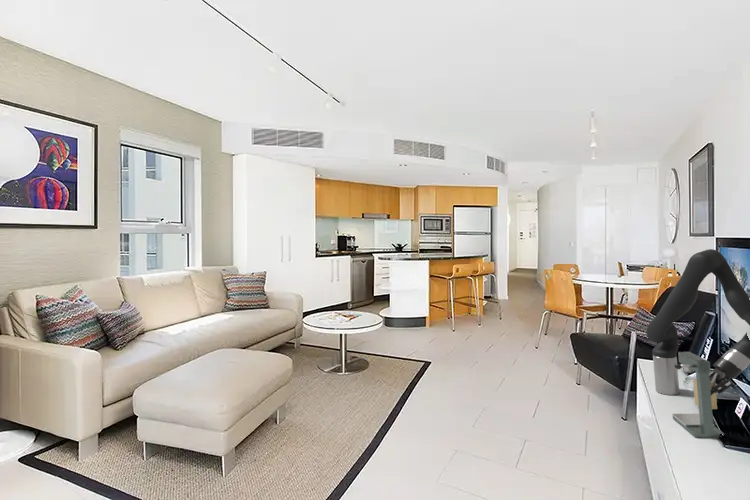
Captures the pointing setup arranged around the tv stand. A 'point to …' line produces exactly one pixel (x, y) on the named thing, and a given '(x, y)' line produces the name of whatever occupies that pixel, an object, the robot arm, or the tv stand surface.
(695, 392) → the block
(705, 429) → the arbor press
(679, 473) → the tv stand surface
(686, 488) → the tv stand surface
